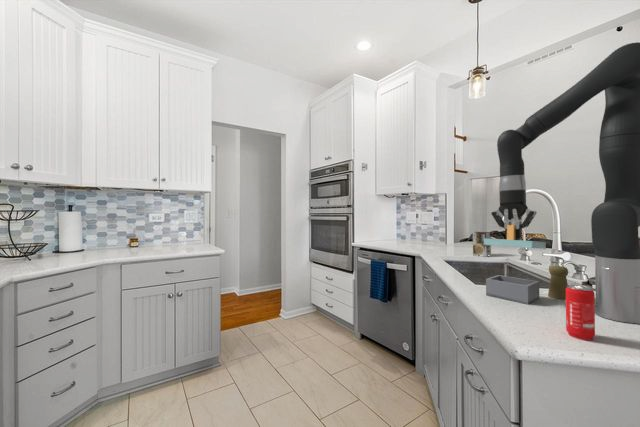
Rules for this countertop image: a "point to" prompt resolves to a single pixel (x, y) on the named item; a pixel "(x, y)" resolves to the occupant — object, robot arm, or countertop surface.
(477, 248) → the coffee box
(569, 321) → the beverage can
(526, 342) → the countertop surface
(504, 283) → the tub
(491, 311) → the countertop surface
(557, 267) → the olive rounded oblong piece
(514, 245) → the lid
